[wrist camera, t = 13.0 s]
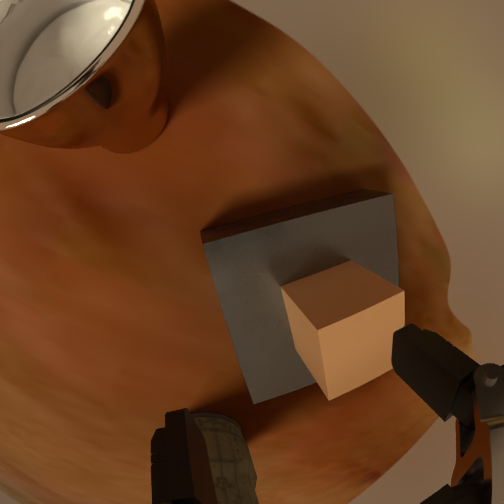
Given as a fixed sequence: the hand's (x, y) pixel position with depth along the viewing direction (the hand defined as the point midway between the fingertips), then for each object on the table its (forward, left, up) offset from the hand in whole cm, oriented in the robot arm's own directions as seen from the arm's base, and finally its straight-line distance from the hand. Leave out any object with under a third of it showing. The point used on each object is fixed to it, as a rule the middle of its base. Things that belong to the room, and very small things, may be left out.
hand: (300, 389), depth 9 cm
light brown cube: (+3, +5, -10) cm, 12 cm away
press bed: (+3, +5, -14) cm, 15 cm away
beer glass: (-14, -5, -14) cm, 20 cm away
